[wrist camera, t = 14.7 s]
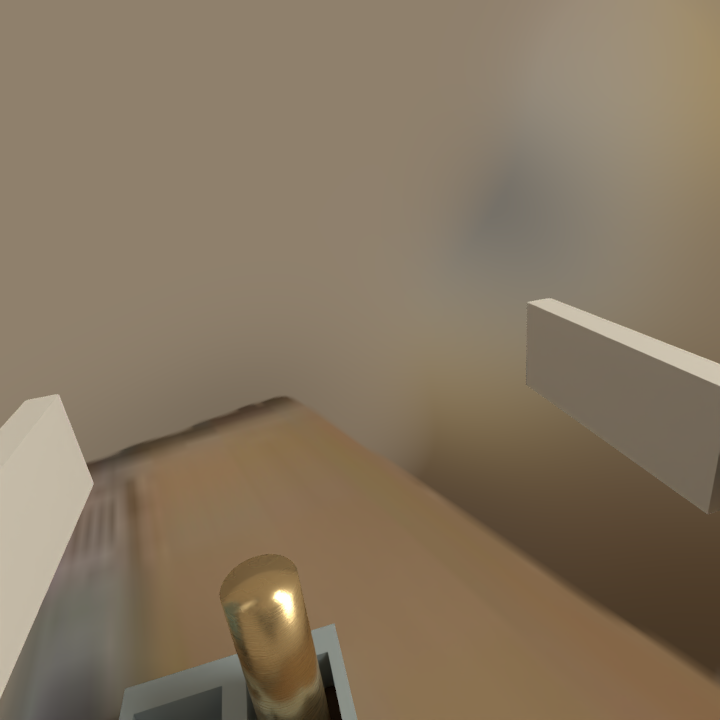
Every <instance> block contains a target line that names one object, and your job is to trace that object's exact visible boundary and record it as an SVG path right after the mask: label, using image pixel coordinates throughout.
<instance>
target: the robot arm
mask: <svg viewBox="0 0 720 720" xmlns="http://www.w3.org/2000/svg"><path fill="white" fill-rule="evenodd" d="M526 359H527V360H526V385H527V386H529V387H530V388H532V389H533V390H534V391H536V392H537V393H539V394H540V395H541V396H543V397H544V398H546V399H547V400H548V401H550V402H551V403H553V404H554V405H556V406H557V407H558V408H560V409H561V410H563V411H564V412H565V413H567V414H568V415H569V416H571V417H572V418H574V419H575V420H576V421H578V422H579V423H581V424H582V425H583V426H585V427H586V428H588V429H589V430H591V431H592V432H593V433H595V434H596V435H597V436H599V437H600V438H602V439H603V440H605V441H606V442H607V443H609V444H610V445H611V446H613V447H614V448H616V449H617V450H618V451H620V452H621V453H623V454H624V455H626V456H627V457H628V458H630V459H631V460H632V461H634V462H635V463H637V464H638V465H640V466H641V467H642V468H644V469H645V470H647V471H648V472H649V473H651V474H652V475H654V476H655V477H656V478H658V479H659V480H661V481H662V482H663V483H665V484H666V485H668V486H669V487H670V488H672V489H673V490H675V491H676V492H677V493H679V494H680V495H682V496H683V497H684V498H686V499H687V500H689V501H690V502H691V503H693V504H694V505H696V506H697V507H698V508H700V509H701V510H703V511H704V512H706V513H707V514H710V513H713V512H716V511H720V364H718V363H716V362H713V361H711V360H708V359H705V358H703V357H700V356H698V355H695V354H693V353H690V352H687V351H685V350H682V349H680V348H677V347H675V346H672V345H670V344H667V343H664V342H662V341H659V340H657V339H654V338H652V337H649V336H646V335H644V334H641V333H639V332H636V331H634V330H631V329H629V328H626V327H623V326H620V325H618V324H616V323H613V322H611V321H608V320H605V319H603V318H600V317H598V316H595V315H593V314H590V313H587V312H585V311H582V310H579V309H577V308H575V307H572V306H570V305H567V304H564V303H562V302H559V301H557V300H554V299H551V298H547V299H541V300H537V301H531V302H527V357H526ZM93 484H94V483H93V480H92V478H91V475H90V473H89V470H88V468H87V465H86V463H85V460H84V458H83V455H82V452H81V450H80V447H79V445H78V442H77V440H76V437H75V435H74V432H73V429H72V427H71V424H70V422H69V419H68V417H67V414H66V412H65V409H64V406H63V404H62V402H61V399H60V396H59V394H56V395H50V396H45V397H40V398H35V399H31V400H26V401H25V402H24V403H23V404H22V405H21V406H20V407H19V408H18V409H17V411H16V412H15V413H14V414H13V415H12V416H11V417H10V418H9V420H8V421H7V422H6V423H5V424H4V425H3V426H2V427H1V429H0V698H1V695H2V693H3V691H4V689H5V686H6V684H7V682H8V679H9V677H10V675H11V672H12V670H13V668H14V666H15V663H16V661H17V659H18V656H19V654H20V652H21V650H22V647H23V645H24V643H25V640H26V638H27V636H28V633H29V631H30V629H31V627H32V624H33V622H34V620H35V617H36V615H37V613H38V610H39V608H40V606H41V604H42V601H43V599H44V597H45V594H46V592H47V590H48V588H49V585H50V583H51V581H52V578H53V576H54V574H55V571H56V569H57V567H58V565H59V562H60V560H61V558H62V555H63V553H64V551H65V548H66V546H67V544H68V542H69V539H70V537H71V535H72V532H73V530H74V528H75V525H76V523H77V521H78V519H79V516H80V514H81V512H82V509H83V507H84V505H85V503H86V500H87V498H88V496H89V493H90V491H91V489H92V486H93Z"/></svg>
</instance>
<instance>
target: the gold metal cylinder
mask: <svg viewBox="0 0 720 720" xmlns="http://www.w3.org/2000/svg"><path fill="white" fill-rule="evenodd" d="M220 600H221V604H222V607H223V610H224V613H225V617H226V620H227V623H228V626H229V629H230V633H231V636H232V639H233V642H234V645H235V649H236V652H237V655H238V658H239V661H240V665H241V668H242V671H243V674H244V678H245V681H246V684H247V687H248V690H249V694H250V697H251V700H252V703H253V706H254V710H255V713H256V716H257V719H258V720H331V717H330V712H329V708H328V704H327V699H326V695H325V690H324V686H323V682H322V677H321V673H320V669H319V664H318V660H317V655H316V651H315V647H314V642H313V638H312V633H311V629H310V625H309V620H308V616H307V611H306V607H305V603H304V598H303V594H302V589H301V585H300V581H299V576H298V572H297V568H296V566H295V565H294V563H293V562H292V561H291V560H289V559H288V558H286V557H284V556H281V555H275V554H266V555H260V556H256V557H253V558H251V559H248V560H246V561H244V562H243V563H241V564H239V565H238V566H237V567H235V568H234V569H233V570H232V571H231V572H230V573H229V574H228V575H227V577H226V578H225V580H224V582H223V584H222V586H221V589H220Z"/></svg>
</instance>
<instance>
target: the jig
mask: <svg viewBox="0 0 720 720" xmlns="http://www.w3.org/2000/svg"><path fill="white" fill-rule="evenodd" d="M311 633H312V638H313V642H314V647H315V651H316V655H317V660H318V664H319V669H320V673H321V677H322V682H323V686H324V689H325V688H327V687H330V686H333V685H335V688H336V693H337V698H338V702H339V707H340V712H341V717H342V720H357V716H356V712H355V708H354V704H353V700H352V695H351V691H350V687H349V683H348V679H347V674H346V670H345V666H344V662H343V658H342V654H341V649H340V645H339V641H338V637H337V633H336V628H335V624H331V625H328V626H325V627H321V628H318V629H315V630H312V631H311ZM119 720H257V717H256V713H255V710H254V706H253V703H252V700H251V697H250V694H249V690H248V687H247V684H246V681H245V678H244V674H243V671H242V668H241V665H240V661H239V658H238V655H237V654H235V655H232V656H229V657H225V658H222V659H219V660H216V661H213V662H209V663H206V664H203V665H200V666H197V667H193V668H190V669H187V670H184V671H181V672H177V673H174V674H171V675H168V676H165V677H161V678H158V679H155V680H152V681H149V682H145V683H142V684H139V685H136V686H133V687H129V688H126V689H125V692H124V697H123V702H122V707H121V712H120V716H119Z"/></svg>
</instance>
